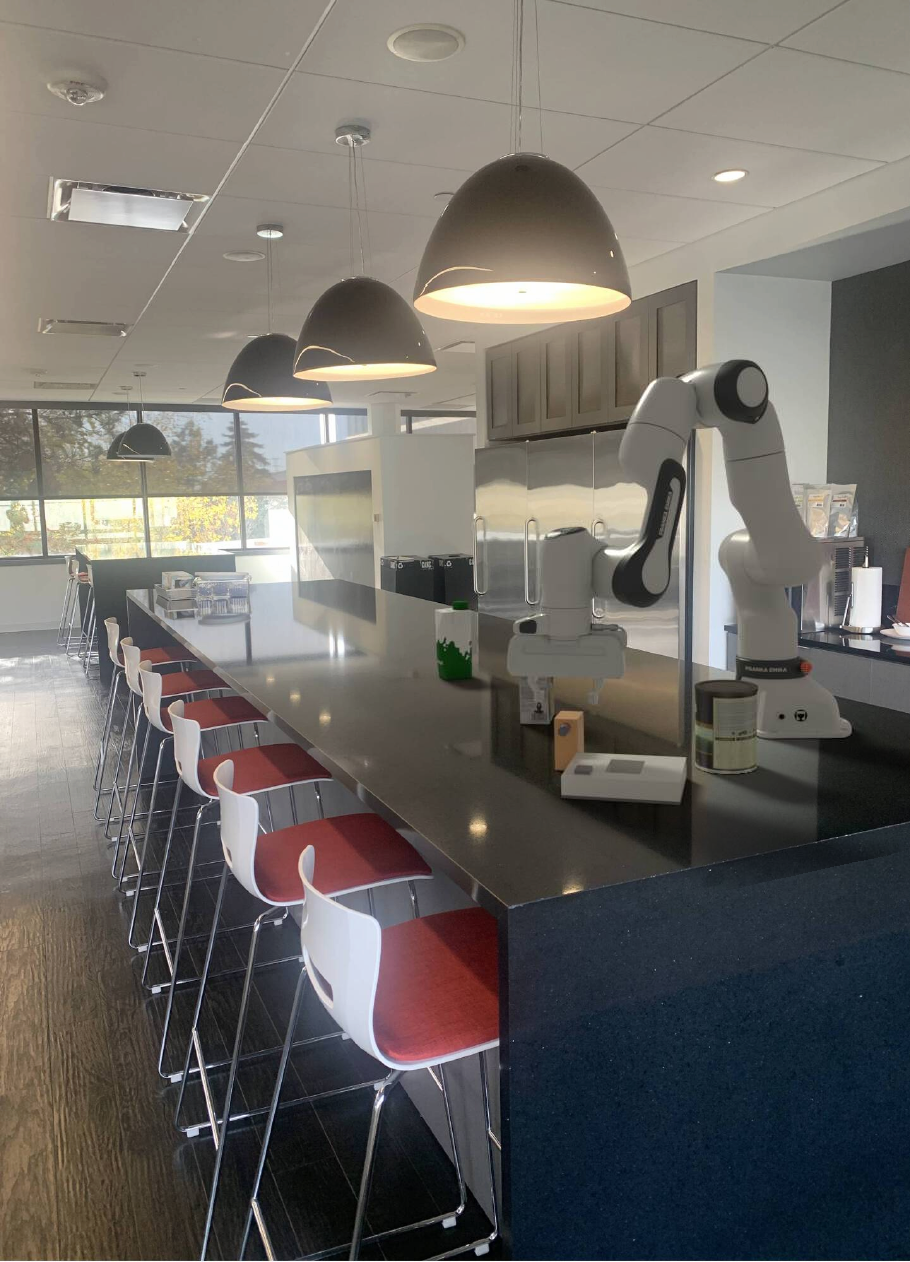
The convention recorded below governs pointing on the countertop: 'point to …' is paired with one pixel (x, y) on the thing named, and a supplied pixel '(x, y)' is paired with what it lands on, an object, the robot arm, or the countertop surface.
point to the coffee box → (536, 710)
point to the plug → (568, 737)
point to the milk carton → (454, 641)
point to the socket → (625, 778)
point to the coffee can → (726, 726)
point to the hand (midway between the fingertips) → (566, 702)
